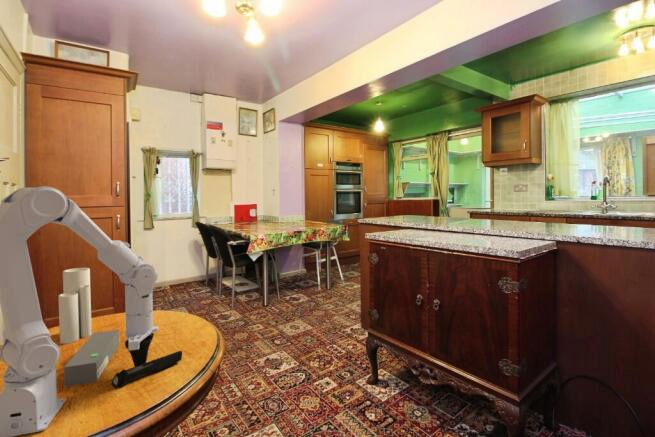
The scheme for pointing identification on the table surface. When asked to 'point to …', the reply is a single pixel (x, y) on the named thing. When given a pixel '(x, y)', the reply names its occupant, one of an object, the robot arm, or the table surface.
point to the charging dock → (91, 358)
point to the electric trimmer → (145, 369)
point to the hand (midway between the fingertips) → (140, 366)
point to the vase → (75, 305)
